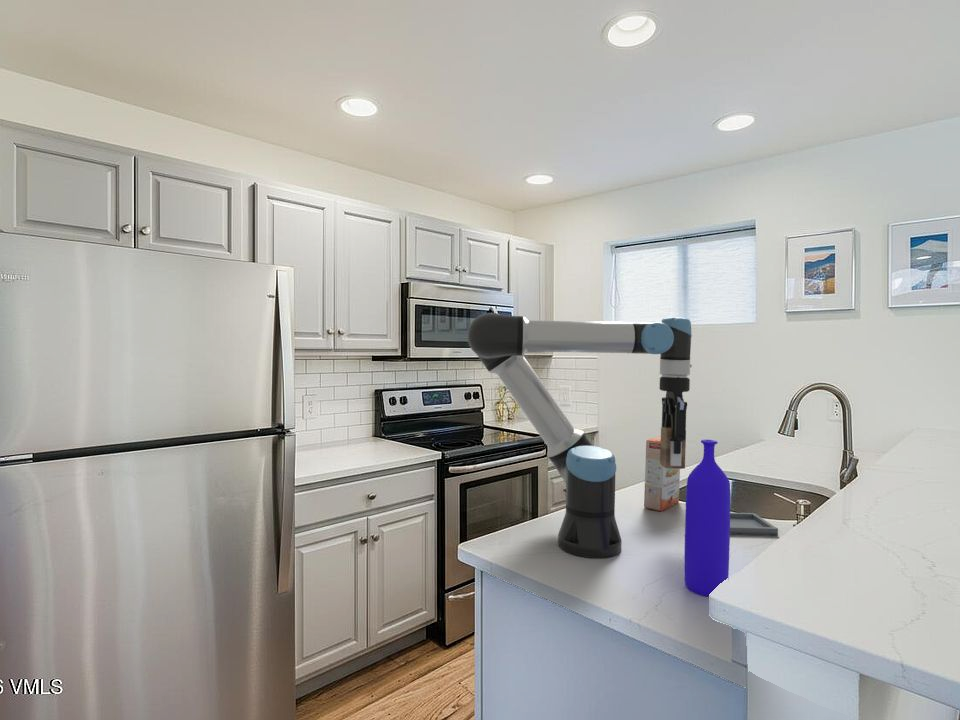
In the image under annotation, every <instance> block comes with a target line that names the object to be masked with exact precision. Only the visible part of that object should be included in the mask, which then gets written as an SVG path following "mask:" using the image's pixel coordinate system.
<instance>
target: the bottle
mask: <svg viewBox="0 0 960 720" xmlns="http://www.w3.org/2000/svg"><path fill="white" fill-rule="evenodd" d="M700 443H701V444H703V457H702V459H701V461H700V462H699V464H697V465H696V466H695V468H693V469H692V471H691V472H690V473H689V475H688V476H687V480H686V481H687V482H686V492H685V493H686V494H685V516H684V563H683V565H684V567H683V568H684V569H683V570H684V585H685V587H686V588H687V590H689V591H690V592H691V593H694V594H696V595H699V596H702V597H708V596H709V594H710V593H711V592H712V591H713V590H714V589H715V588H716V587H717V586H718V585H719V584H720V583H722V582H723V581H724V580H726V579H727V578H728V579H729V571H730V569H729V568H730V545H731V544H730V542H731V541H730V540H731V537H730V536H731V534H730V513H731V485H730V480H729V478H728V476H727V475H726V473H725V472H724V470H723V469H722V468H721V467H720V466H719V465H718V463H717V461H716V459H715V446H716V445H718V444H719V442H718V441H717V440H714V439H701V441H700ZM708 598H709V597H708Z"/></svg>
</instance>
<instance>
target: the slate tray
mask: <svg viewBox="0 0 960 720" xmlns="http://www.w3.org/2000/svg"><path fill="white" fill-rule="evenodd" d="M730 535H743V536H746V535H747V536H774V537H775V535H778V536H779V528H777V527H776V526H774V525H773V524H771V523H770V522H768V521H767V520H766V519H764V518H763V517H761V516H759V515H758V514H757V513H754V512H730Z"/></svg>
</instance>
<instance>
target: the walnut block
mask: <svg viewBox="0 0 960 720" xmlns="http://www.w3.org/2000/svg"><path fill="white" fill-rule="evenodd" d="M660 436H661V446H660V464H661V465H662V466H663V467H665V468H680V470H682V469H686V448H687V447H686V443H687V442H686V441H687V438H686V439H685V440H683V441H682V458H681V466H670V444H671V441H669V439H672V428H671V427H662V426H661V427H660Z"/></svg>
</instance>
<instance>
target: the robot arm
mask: <svg viewBox="0 0 960 720" xmlns="http://www.w3.org/2000/svg"><path fill="white" fill-rule="evenodd" d="M466 335H467V343H468V345H469V348H470V349H471V351H472V352H473V353H475V355H477V357H478V358H479V360H480V361H481V363H482V364H483V366H484V368H485V369H486V370H487V372H489V373H491V374H495V375H498V377H499V379H500V380H501V381H502V383H503V384H504V386H505V388H506V389H507V390H508V392H509V393H510V394H511V396H512V397H513V399H514V400H515V402H516V404H517V405H518V406H519V408H520V409H521V410H522V413H524V415H525V416H526V417H527V419H528V420H529V422H530V423H531V425H532V426H533V427H534V428H535V431H536V432H537V434H538V435H539V436H540V438H541V440H543V442H544V443H545V444H546V446H547V453H546V456H547V457H548V459H549V460H550V461H551V463H552V465H553V466H554V468H555V469H556V470H557V472H558V473H559V475H560V477H561V478H562V479H563V481H564V484H565V490H566V491H565V514H564V515H563V516H564V517H563V520H562V523H561V526H560V528H559V531H558V534H557V537H558V538H557V545H558V547H559V548H560V549H561V550H563V551H565V552H567V553H569V554H571V555H575V556H579V557H584V558H595V559H599V558H600V559H601V558H610V557H613V556H616V555H618V554H620V552H622V542H623V541H622V537H621V536H622V535H621V534H620V533H621V532H620V529H619V528H618V524H617V520H616V517H615V516H616V515H615V513H616V512H615V507H616V503H615V502H616V474H617V473H616V472H617V464H616V457H615V455H614V453H613V452H611V451H610V450H609V449H606V448H602V447H601V446H594V445H593V444H592V442H591V441H590V439H589V438H588V436H587V435H586V434H585V432H584V430H581V429H577V428H575V427H573V424H571V421H569V419H568V418H567V416H566V415H565V413H564V412H563V410H562V409H561V408H560V406H559V405H558V404H557V402H556V400H555V399H554V398H553V395H552V394H550V392H549V390H548V389H547V388H546V386H545V384H544V383H543V382H542V380H541V379H540V377H539V376H538V375H537V373H536V372H535V369H533V367H532V366H531V364H530V363H529V362H528V360H527V359H526V358H525V356H524V355H525V354H526V353H528V352H529V353H531V352H534V353H536V352H538V353H590V354H591V353H594V354H595V353H598V354H599V353H602V354H603V353H604V354H605V353H606V354H607V353H608V354H643V355H644V354H645V355H646V354H648V355H660V356H659V357H660V358H659V359H660V360H659V375H661V376H660V377H659V387H658V388H659V390H660V391H662V392H665V397H664V396H663V397H662V398H661V408H662V410H661V427H671V428H672V439H669V441H671V444H670V466H681V458H682V441H683V440H685V439H686V440H687V409H688V402H687V401H684V400H685V399H684V395H683V393H684V392H685V393H687V392H690V387H691V383H690V382H691V380H690V378H689V377H688V376H690V375H691V368H693V367H692V364H691V347H692V337H693V335H692V322H691V320H690V319H689V318H687V317H665V318H663V319H661V321H651V322H641V321H640V322H628V321H625V322H623V321H581V320H580V321H579V320H577V321H575V320H573V321H571V320H569V321H568V320H529V319H527V318H526V317H525V316H523V315H521V316H520V315H506V314H501V313H494V312H485V313H481V314H480V315H478V316H477V317H475V318H474V319H473V320H472V321H471V323H470V325H469V327H468V330H467V334H466Z"/></svg>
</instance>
